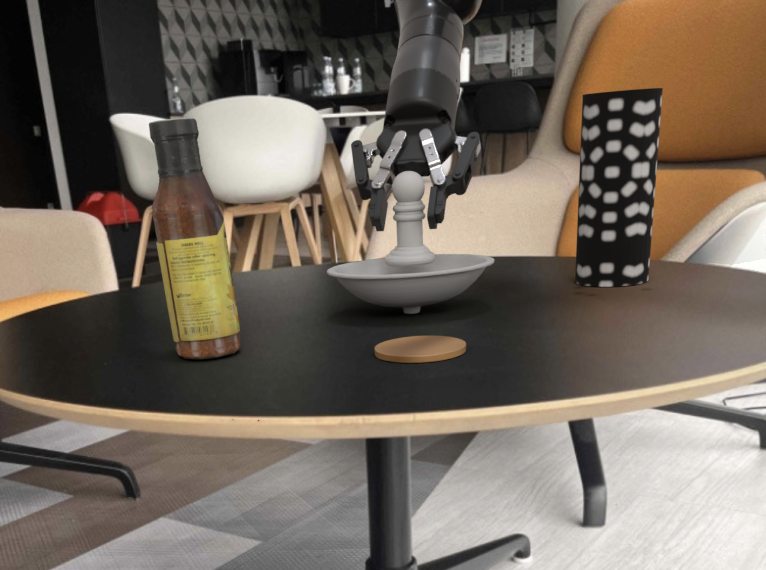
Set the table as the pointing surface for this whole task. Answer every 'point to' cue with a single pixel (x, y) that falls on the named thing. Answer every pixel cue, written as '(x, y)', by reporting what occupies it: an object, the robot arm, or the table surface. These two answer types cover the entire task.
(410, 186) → the chess piece
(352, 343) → the table surface
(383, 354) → the cork coaster
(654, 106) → the spotted tube
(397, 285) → the dish
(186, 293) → the sauce bottle
